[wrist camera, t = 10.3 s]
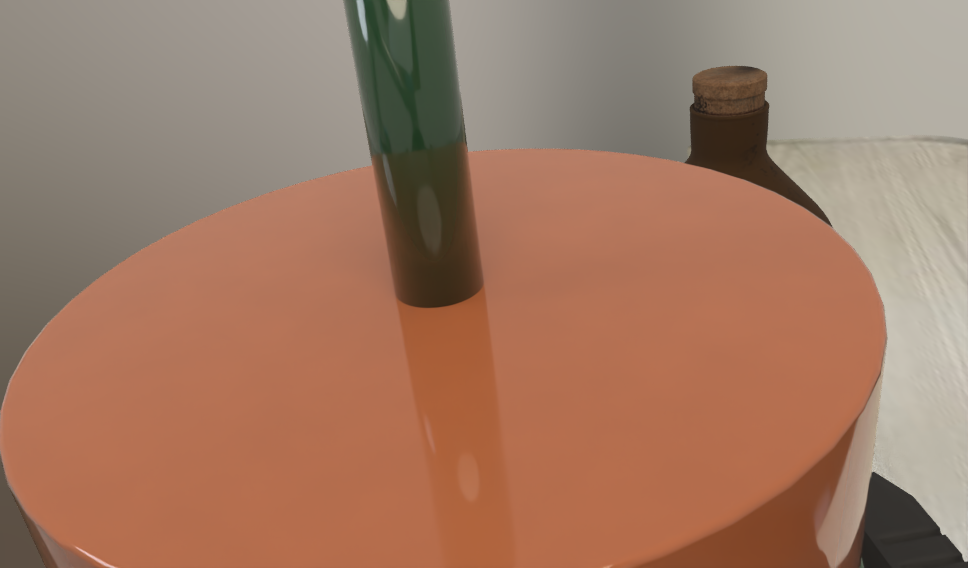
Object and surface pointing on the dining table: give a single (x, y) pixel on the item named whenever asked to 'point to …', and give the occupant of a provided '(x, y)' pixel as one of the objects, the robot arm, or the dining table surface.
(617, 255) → the banded candle
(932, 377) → the dining table surface
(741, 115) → the olive oil
